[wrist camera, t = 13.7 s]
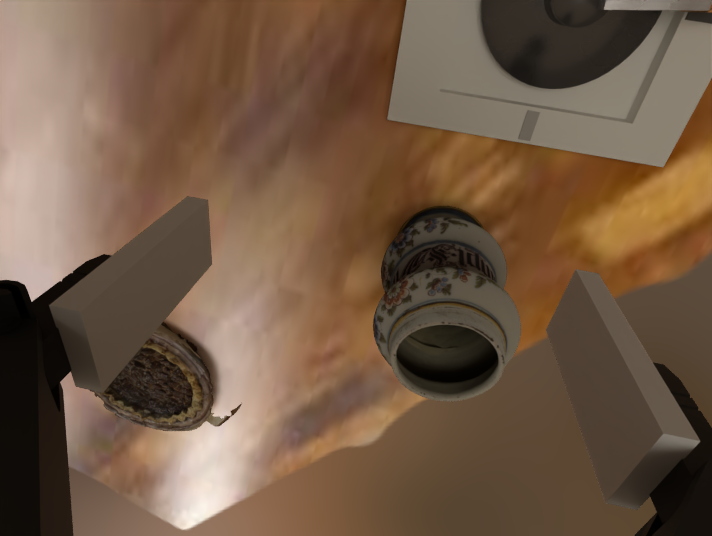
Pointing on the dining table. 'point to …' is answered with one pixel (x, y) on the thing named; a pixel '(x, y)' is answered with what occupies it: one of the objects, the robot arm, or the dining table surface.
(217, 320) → the dining table surface
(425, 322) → the apothecary jar
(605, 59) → the dial
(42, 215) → the dining table surface
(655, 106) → the panel
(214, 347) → the dining table surface
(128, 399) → the pie
